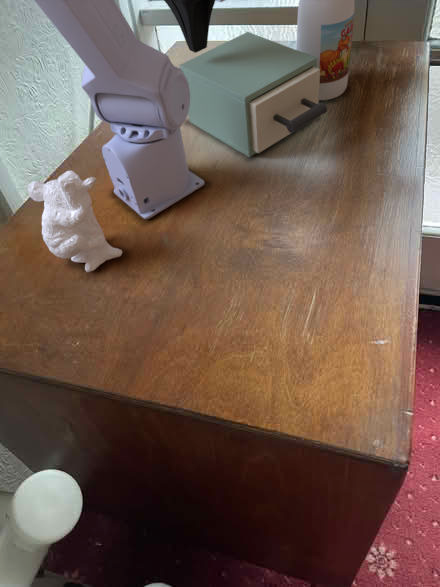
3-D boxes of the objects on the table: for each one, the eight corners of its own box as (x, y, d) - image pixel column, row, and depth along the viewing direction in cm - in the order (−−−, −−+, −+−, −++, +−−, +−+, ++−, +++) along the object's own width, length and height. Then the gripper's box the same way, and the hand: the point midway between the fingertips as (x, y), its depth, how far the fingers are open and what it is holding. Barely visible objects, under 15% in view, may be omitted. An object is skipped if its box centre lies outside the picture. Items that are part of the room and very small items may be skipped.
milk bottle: (297, 104, 70) (300, -57, 54) (294, 78, 74) (296, -75, 59) (350, 99, 69) (368, -65, 53) (343, 74, 74) (358, -83, 58)
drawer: (339, 127, 63) (343, 78, 58) (278, 165, 59) (278, 116, 54) (257, 89, 72) (255, 43, 67) (200, 120, 68) (193, 74, 63)
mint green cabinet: (314, 118, 67) (317, 57, 60) (249, 157, 63) (244, 97, 56) (251, 88, 74) (247, 31, 67) (189, 122, 70) (179, 65, 63)
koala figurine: (138, 244, 55) (107, 157, 45) (109, 286, 51) (69, 201, 42) (79, 230, 57) (39, 146, 48) (48, 269, 54) (-3, 186, 44)
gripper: (250, -81, 49) (257, 52, 59) (171, -95, 56) (189, 24, 67) (198, -61, 46) (214, 73, 57) (122, -79, 54) (149, 42, 65)
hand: (198, 48), depth 62 cm, fingers closed
